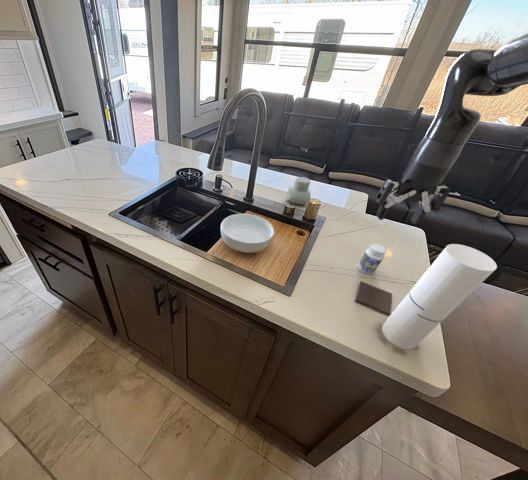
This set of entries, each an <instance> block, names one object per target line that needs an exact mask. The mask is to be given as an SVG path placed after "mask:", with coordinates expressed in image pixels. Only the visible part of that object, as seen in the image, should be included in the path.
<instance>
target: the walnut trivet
mask: <svg viewBox="0 0 528 480" xmlns="http://www.w3.org/2000/svg"><path fill="white" fill-rule="evenodd" d="M392 301H393V293H391V292H390V291H387V290H385V289H384V290H383V289H381V288H379V287H376V286H374V285H372V284H369V283H367V282H364V281H360V282H359V284H358V287H357V291H356V295H355V300H354V302H355V303H357V304H359V305H362V306H364V307H366V308H369V309H371V310H374V311H375V312H378V313H380V314H382V315H385V316H387V317H390V316H391V314H392V313H391V311H392Z"/></svg>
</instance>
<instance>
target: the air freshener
mask: <svg viewBox="0 0 528 480" xmlns="http://www.w3.org/2000/svg"><path fill="white" fill-rule="evenodd" d="M310 185H311V180H310V179H309V178H308V177H306V176H298V177H296V178H295V180H294V183H293V186H290V187H288V190H287V200H288V201H289V202H291V203H293V204H295V205H305V204H308V203H309V202H310V201H311V196H312V195H311V194H312V193H311V190H310V189H309V187H310ZM309 200H310V201H309ZM308 201H309V202H308Z"/></svg>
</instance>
